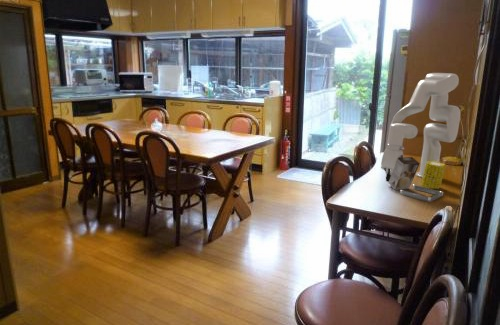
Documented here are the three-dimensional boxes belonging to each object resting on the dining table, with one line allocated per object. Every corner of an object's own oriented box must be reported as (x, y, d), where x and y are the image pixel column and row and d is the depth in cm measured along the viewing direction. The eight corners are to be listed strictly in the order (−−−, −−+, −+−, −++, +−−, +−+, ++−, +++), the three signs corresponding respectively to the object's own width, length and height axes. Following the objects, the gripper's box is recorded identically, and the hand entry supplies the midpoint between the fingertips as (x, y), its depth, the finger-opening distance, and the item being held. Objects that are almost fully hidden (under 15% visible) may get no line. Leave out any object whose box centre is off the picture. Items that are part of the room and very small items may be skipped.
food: (431, 187, 204) (442, 193, 195) (412, 182, 202) (423, 189, 192) (442, 161, 200) (454, 167, 191) (423, 156, 198) (434, 162, 188)
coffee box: (402, 181, 199) (412, 156, 191) (409, 188, 194) (420, 163, 186) (387, 182, 197) (397, 157, 188) (394, 190, 192) (405, 164, 183)
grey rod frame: (413, 188, 196) (414, 184, 195) (443, 195, 185) (443, 191, 184) (399, 193, 186) (400, 189, 185) (429, 202, 175) (430, 198, 174)
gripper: (411, 149, 191) (405, 184, 195) (384, 144, 202) (379, 177, 206) (404, 150, 186) (398, 185, 190) (377, 145, 197) (372, 178, 201)
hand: (388, 181), depth 198 cm, fingers closed
